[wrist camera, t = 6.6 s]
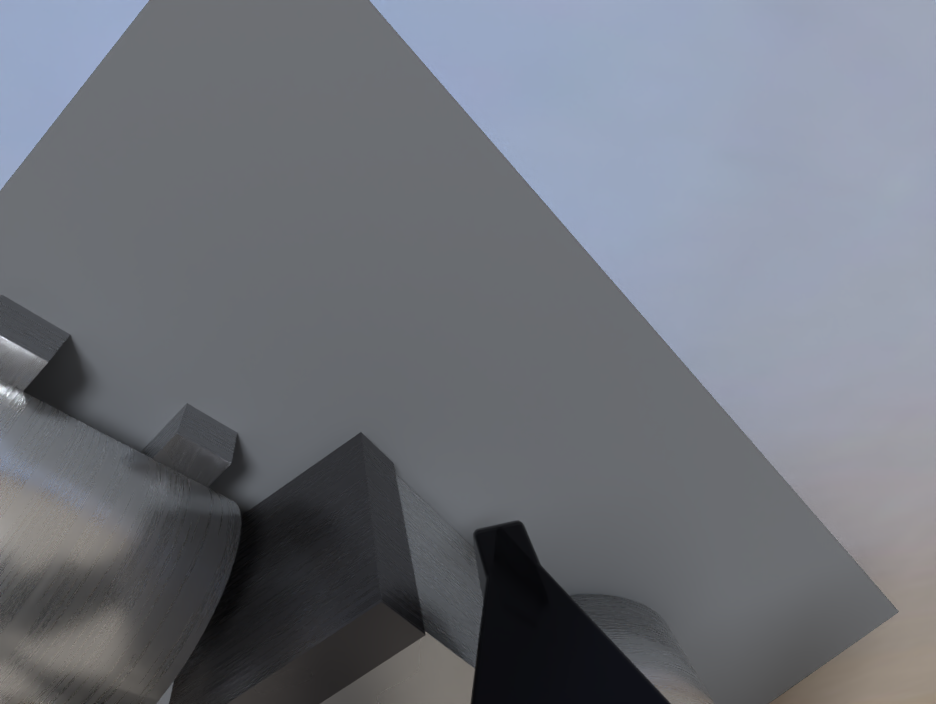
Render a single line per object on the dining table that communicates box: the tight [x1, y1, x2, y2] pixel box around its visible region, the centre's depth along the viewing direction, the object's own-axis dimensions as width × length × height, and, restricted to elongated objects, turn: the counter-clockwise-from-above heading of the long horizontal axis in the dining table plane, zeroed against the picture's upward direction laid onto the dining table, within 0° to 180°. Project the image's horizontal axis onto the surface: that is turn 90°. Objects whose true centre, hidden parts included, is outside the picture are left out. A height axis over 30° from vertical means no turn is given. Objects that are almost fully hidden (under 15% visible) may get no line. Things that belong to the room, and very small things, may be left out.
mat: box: [0, 0, 899, 704], centre depth 12 cm, size 20×15×1 cm
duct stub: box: [0, 295, 241, 704], centre depth 7 cm, size 4×3×3 cm
